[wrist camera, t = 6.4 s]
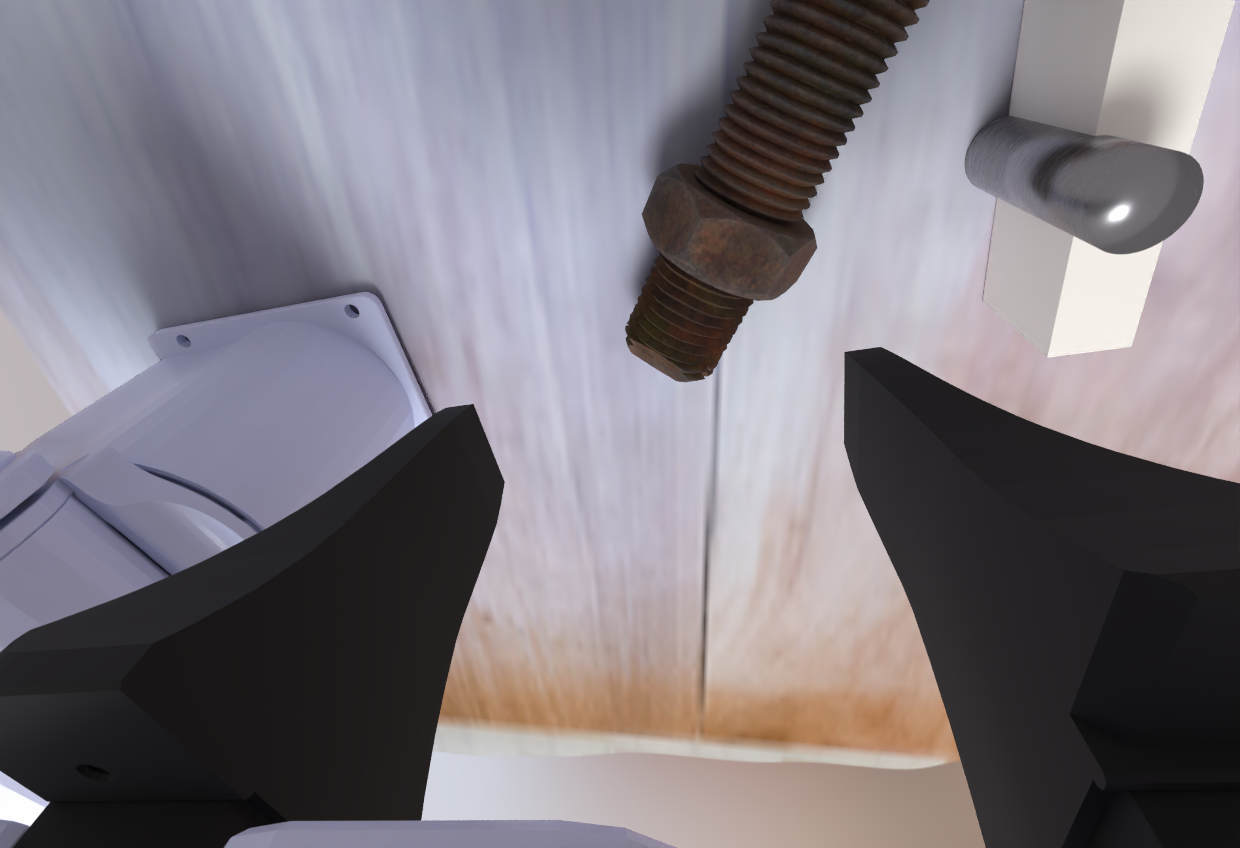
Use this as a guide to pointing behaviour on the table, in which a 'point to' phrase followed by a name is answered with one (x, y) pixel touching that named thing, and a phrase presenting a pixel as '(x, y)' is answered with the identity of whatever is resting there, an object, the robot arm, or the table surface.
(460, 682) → the table surface
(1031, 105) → the bar
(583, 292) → the table surface
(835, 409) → the table surface
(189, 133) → the table surface
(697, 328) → the bolt
